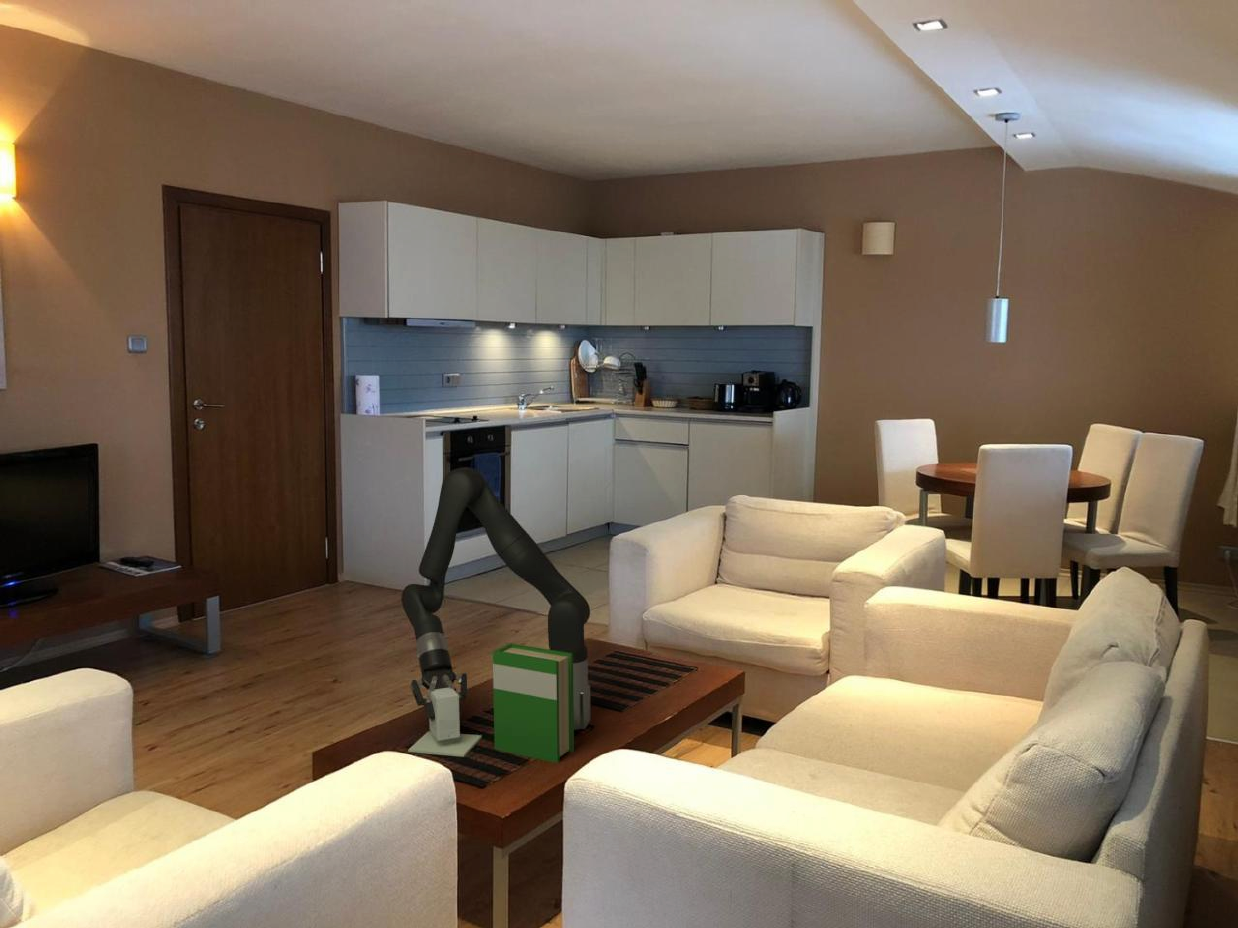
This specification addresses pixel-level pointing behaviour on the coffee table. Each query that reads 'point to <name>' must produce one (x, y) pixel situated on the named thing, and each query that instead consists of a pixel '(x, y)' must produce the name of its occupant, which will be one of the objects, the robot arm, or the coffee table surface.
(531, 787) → the coffee table surface
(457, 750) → the sage mat
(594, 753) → the coffee table surface
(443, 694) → the small box
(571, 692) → the hardback book
